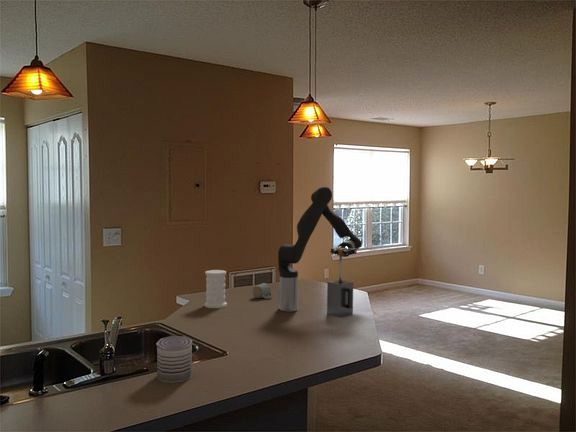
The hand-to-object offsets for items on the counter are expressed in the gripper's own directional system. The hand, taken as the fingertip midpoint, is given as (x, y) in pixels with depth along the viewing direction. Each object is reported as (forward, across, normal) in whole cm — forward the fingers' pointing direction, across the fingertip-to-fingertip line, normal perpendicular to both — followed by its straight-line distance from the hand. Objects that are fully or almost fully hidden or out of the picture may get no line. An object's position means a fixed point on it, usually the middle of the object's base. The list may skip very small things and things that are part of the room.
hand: (339, 252), depth 248 cm
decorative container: (+1, -66, +31) cm, 73 cm away
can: (+96, -36, +31) cm, 107 cm away
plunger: (-3, 0, +19) cm, 19 cm away
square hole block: (-2, +1, +31) cm, 31 cm away
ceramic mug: (-25, -48, +31) cm, 63 cm away
